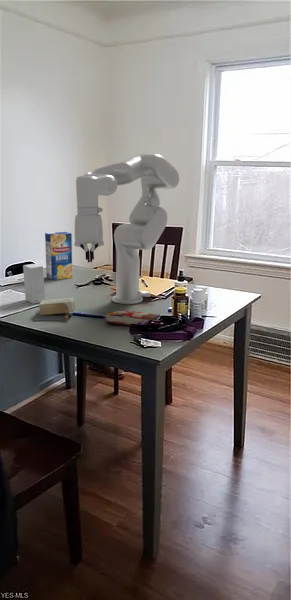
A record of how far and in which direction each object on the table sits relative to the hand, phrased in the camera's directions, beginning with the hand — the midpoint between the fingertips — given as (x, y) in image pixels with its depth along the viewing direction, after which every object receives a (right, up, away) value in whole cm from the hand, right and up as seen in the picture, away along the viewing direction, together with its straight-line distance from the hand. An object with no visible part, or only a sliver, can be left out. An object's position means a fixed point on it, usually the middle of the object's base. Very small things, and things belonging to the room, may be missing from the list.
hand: (89, 261), depth 179 cm
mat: (-15, -20, +1) cm, 25 cm away
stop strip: (-9, -20, +1) cm, 22 cm away
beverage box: (-22, -3, +62) cm, 66 cm away
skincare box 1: (-25, -15, +20) cm, 35 cm away
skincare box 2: (-6, -16, +1) cm, 17 cm away
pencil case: (+16, -23, -6) cm, 29 cm away
